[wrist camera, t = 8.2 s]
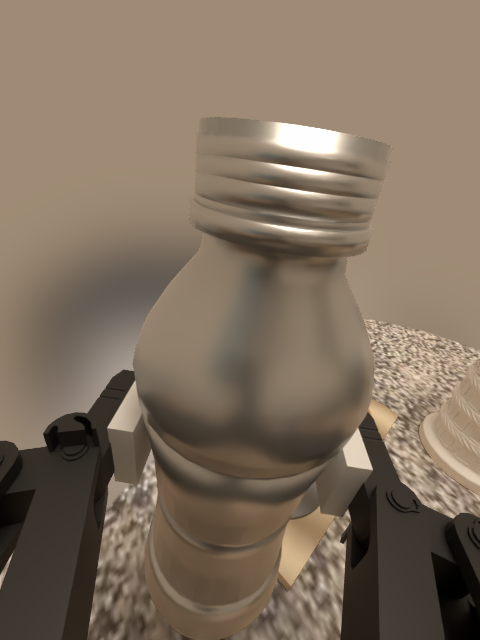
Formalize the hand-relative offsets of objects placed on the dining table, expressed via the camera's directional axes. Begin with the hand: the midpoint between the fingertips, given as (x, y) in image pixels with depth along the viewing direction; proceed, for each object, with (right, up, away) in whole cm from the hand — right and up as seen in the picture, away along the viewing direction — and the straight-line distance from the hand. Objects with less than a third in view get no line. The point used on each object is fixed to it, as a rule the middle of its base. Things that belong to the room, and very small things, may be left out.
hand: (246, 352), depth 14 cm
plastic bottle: (-2, -12, +1) cm, 12 cm away
